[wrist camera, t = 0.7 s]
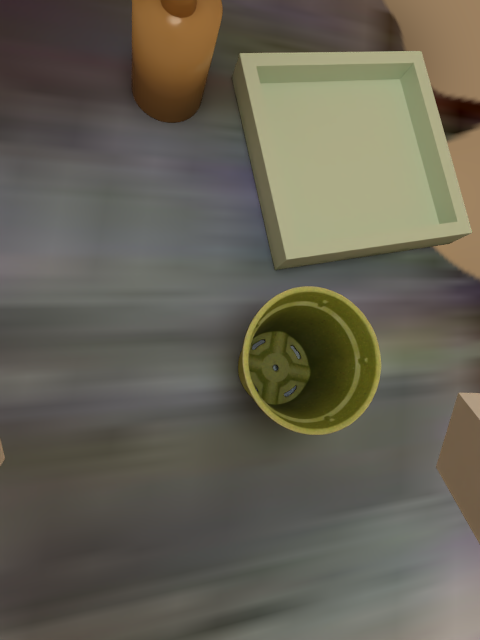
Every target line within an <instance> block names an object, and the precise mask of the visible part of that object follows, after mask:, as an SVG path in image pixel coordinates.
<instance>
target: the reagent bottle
mask: <svg viewBox="0 0 480 640" xmlns="http://www.w3.org/2000/svg"><path fill="white" fill-rule="evenodd" d="M221 19H222V2H221V0H132V93H133V96H134V99H135V101H136V103H137V104H138V106H139V107H140V108H141V109H142V110H143V111H144V112H145V113H146V114H147V115H149V116H151V117H152V118H154V119H157V120H159V121H163V122H169V123H175V122H181V121H184V120H187V119H188V118H190V117H192V116H193V115H194V114H195V113H196V112H197V110H198V109H199V107H200V104H201V101H202V97H203V93H204V89H205V85H206V81H207V76H208V72H209V68H210V64H211V60H212V56H213V52H214V48H215V44H216V39H217V35H218V31H219V27H220V23H221Z"/></svg>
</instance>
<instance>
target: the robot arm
mask: <svg viewBox="0 0 480 640" xmlns="http://www.w3.org/2000/svg"><path fill="white" fill-rule="evenodd" d="M4 459H5V456H4V452H3V448H2V444H1V440H0V466H1V464H2V462H3V461H4ZM436 468H437V470H438V471H439V473H440V475H441V477H442V478H443V480H444V482H445V484H446V486H447V487H448V489H449V491H450V493H451V494H452V496H453V498H454V500H455V501H456V503H457V505H458V507H459V508H460V510H461V512H462V514H463V516H464V517H465V519H466V521H467V523H468V524H469V526H470V528H471V530H472V531H473V533H474V535H475V537H476V538H477V540H478V542H479V544H480V393H458V396H457V399H456V402H455V406H454V409H453V412H452V415H451V419H450V422H449V425H448V429H447V432H446V435H445V439H444V442H443V445H442V449H441V452H440V455H439V459H438V462H437V465H436Z"/></svg>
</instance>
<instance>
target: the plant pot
mask: <svg viewBox="0 0 480 640" xmlns="http://www.w3.org/2000/svg"><path fill="white" fill-rule="evenodd" d="M260 340H265V343H263V344H261V345H260V346H258V347H257V348H256V349H255V350H252V346H253V345H254V344H255V343H257V342H258V341H260ZM292 345H293V346H294V347H295V348H296V350H297V351H299V353H300V355H301V358H300V359H298V358H297V356H296V354H295V353H294V351H293V350H292V349H291V348H290V346H292ZM273 365H277V366H278V370H277V371H274V370H273ZM238 373H239V378H240V381H241V383H242V386H243V387H244V389H245V390H246V392H247V393H248V394H249V395H250V396H251V397H252V398H253V399H254V401H255V402H256V403H257V405H258V406H259V407H260V409H261V410H262V411H263V412H264V413H265V414H266V415H267V416H268V417H269V418H271V419H272V420H273V421H275V422H276V423H278V424H279V425H281V426H283V427H285V428H287V429H289V430H292V431H295V432H298V433H303V434H309V435H324V434H329V433H333V432H336V431H338V430H341V429H343V428H345V427H347V426H348V425H350V424H351V423H353V422H354V421H355V420H357V419H358V418H359V417H360V415H362V414H363V412H364V411H365V410H366V409H367V407H368V406H369V405H370V403H371V401H372V399H373V397H374V395H375V392H376V390H377V387H378V384H379V379H380V373H381V357H380V351H379V345H378V341H377V338H376V335H375V333H374V330H373V328H372V326H371V325H370V323H369V322H368V320H367V319H366V317H365V316H364V314H363V313H362V312H361V311H360V310H359V309H358V308H357V307H356V306H355V305H354V304H353V303H352V302H351V301H349V300H348V299H347V298H345V297H344V296H342V295H340V294H338V293H335V292H333V291H331V290H328V289H325V288H320V287H310V286H304V287H297V288H293V289H289V290H287V291H284V292H282V293H280V294H278V295H276V296H275V297H273V298H272V299H271V300H269V301H268V302H267V303H266V304H265V305H264V306H263V307H262V308H261V309H260V310H259V312H258V313H257V314H256V315H255V317H254V318H253V320H252V322H251V323H250V325H249V327H248V330H247V332H246V335H245V338H244V343H243V349H242V351H241V354H240V357H239V363H238ZM254 385H255V387H256V388H257V389H258V392H257V390H256V389H255V387H254ZM295 386H297V387H296V390H295V391H294V392H293V393H292V394H291V395H290V396H288V397H285V396H284V393H286V392H288V391H289V390H291V389H292V388H293V387H295Z"/></svg>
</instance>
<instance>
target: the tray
mask: <svg viewBox="0 0 480 640" xmlns="http://www.w3.org/2000/svg"><path fill="white" fill-rule="evenodd" d="M232 81H233V86H234V90H235V95H236V99H237V104H238V108H239V113H240V117H241V122H242V126H243V131H244V135H245V139H246V144H247V148H248V153H249V157H250V162H251V166H252V171H253V175H254V180H255V184H256V189H257V193H258V198H259V202H260V206H261V211H262V215H263V220H264V224H265V229H266V233H267V238H268V242H269V247H270V251H271V256H272V260H273V264H274V269H275V270H278V269H285V268H292V267H298V266H305V265H312V264H318V263H325V262H332V261H338V260H345V259H351V258H358V257H365V256H371V255H378V254H385V253H391V252H398V251H405V250H411V249H418V248H424V247H431V246H438V245H444V244H450V243H452V242H454V241H456V240H458V239H460V238H462V237H464V236H466V235H469V234H471V233H472V230H471V227H470V223H469V220H468V216H467V213H466V209H465V205H464V202H463V198H462V195H461V191H460V188H459V184H458V180H457V177H456V173H455V170H454V166H453V163H452V159H451V155H450V152H449V148H448V145H447V141H446V138H445V134H444V130H443V127H442V123H441V120H440V116H439V113H438V109H437V105H436V102H435V98H434V95H433V91H432V88H431V84H430V81H429V77H428V74H427V70H426V66H425V63H424V59H423V55H422V52H421V51H394V52H308V53H240V54H239V57H238V60H237V63H236V66H235V69H234V72H233V75H232Z"/></svg>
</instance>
